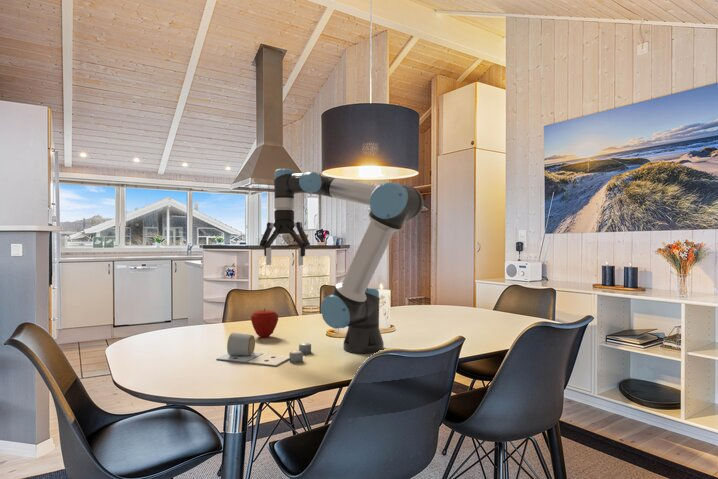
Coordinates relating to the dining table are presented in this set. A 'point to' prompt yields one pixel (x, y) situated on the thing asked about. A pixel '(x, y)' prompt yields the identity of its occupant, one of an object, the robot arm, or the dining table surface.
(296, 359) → the tealight
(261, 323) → the apple
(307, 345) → the tealight
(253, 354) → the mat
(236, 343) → the grey cylinder
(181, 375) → the dining table surface
